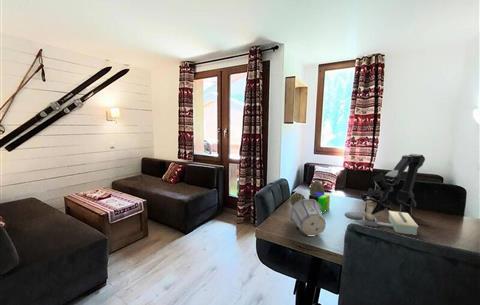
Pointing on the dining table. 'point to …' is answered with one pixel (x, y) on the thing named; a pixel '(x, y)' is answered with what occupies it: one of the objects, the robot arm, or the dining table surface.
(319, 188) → the decorative egg
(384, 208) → the robot arm
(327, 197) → the puzzle toy
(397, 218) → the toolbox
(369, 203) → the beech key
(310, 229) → the tipped over flowerpot
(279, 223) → the dining table surface
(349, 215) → the rubber mat
